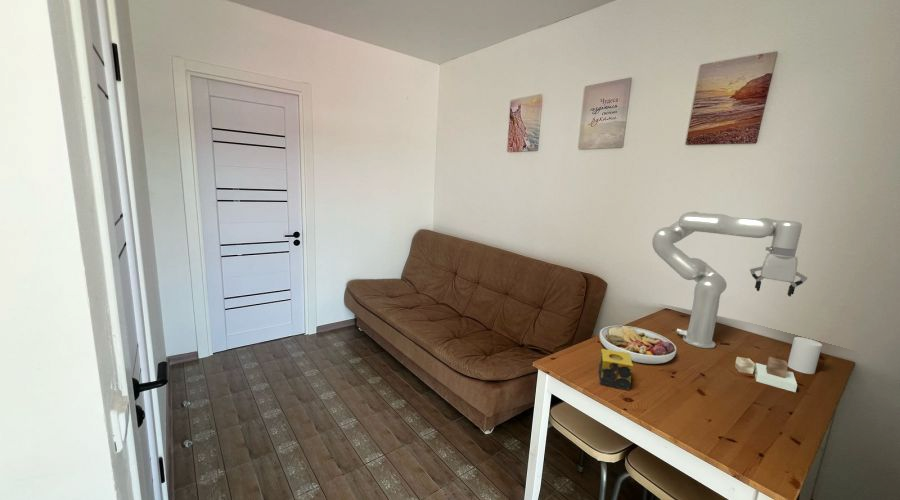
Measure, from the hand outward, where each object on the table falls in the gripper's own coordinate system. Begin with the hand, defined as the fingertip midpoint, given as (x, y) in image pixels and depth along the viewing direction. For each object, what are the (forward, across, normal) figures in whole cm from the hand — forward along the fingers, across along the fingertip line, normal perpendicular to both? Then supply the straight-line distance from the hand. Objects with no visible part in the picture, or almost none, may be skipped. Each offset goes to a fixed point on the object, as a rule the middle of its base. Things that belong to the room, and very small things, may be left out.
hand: (773, 292), depth 146 cm
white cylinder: (+31, +14, +4) cm, 34 cm away
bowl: (+31, -43, -24) cm, 58 cm away
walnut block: (+27, +4, -16) cm, 32 cm away
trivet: (+30, +4, -16) cm, 34 cm away
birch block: (+30, -5, -14) cm, 34 cm away
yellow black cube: (+31, -44, -58) cm, 79 cm away
